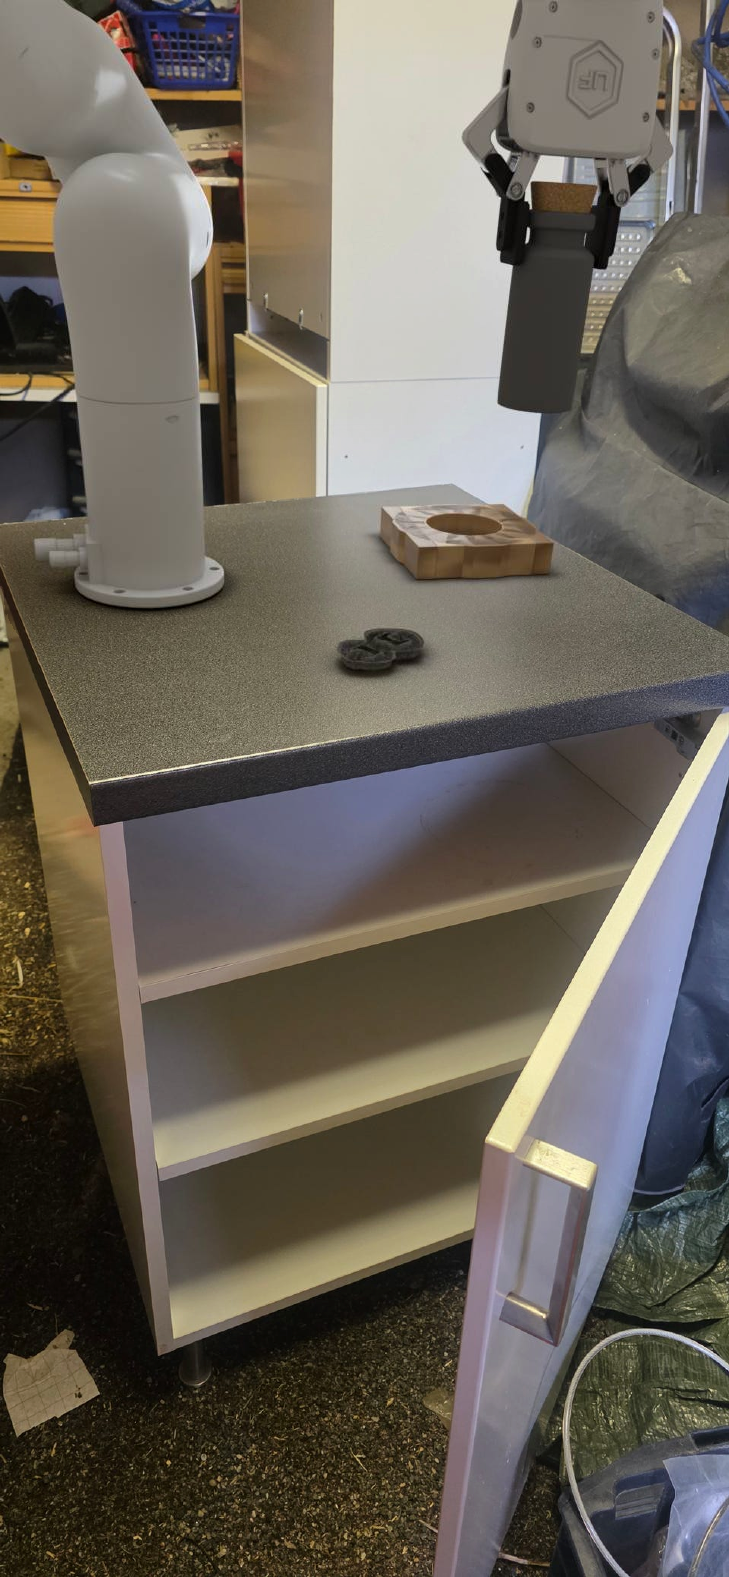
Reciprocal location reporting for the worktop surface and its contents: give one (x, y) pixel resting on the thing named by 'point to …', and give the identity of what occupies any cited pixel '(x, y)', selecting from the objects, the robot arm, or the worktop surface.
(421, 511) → the socket pad
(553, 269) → the bottle
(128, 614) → the worktop surface
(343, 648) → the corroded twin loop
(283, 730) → the worktop surface
